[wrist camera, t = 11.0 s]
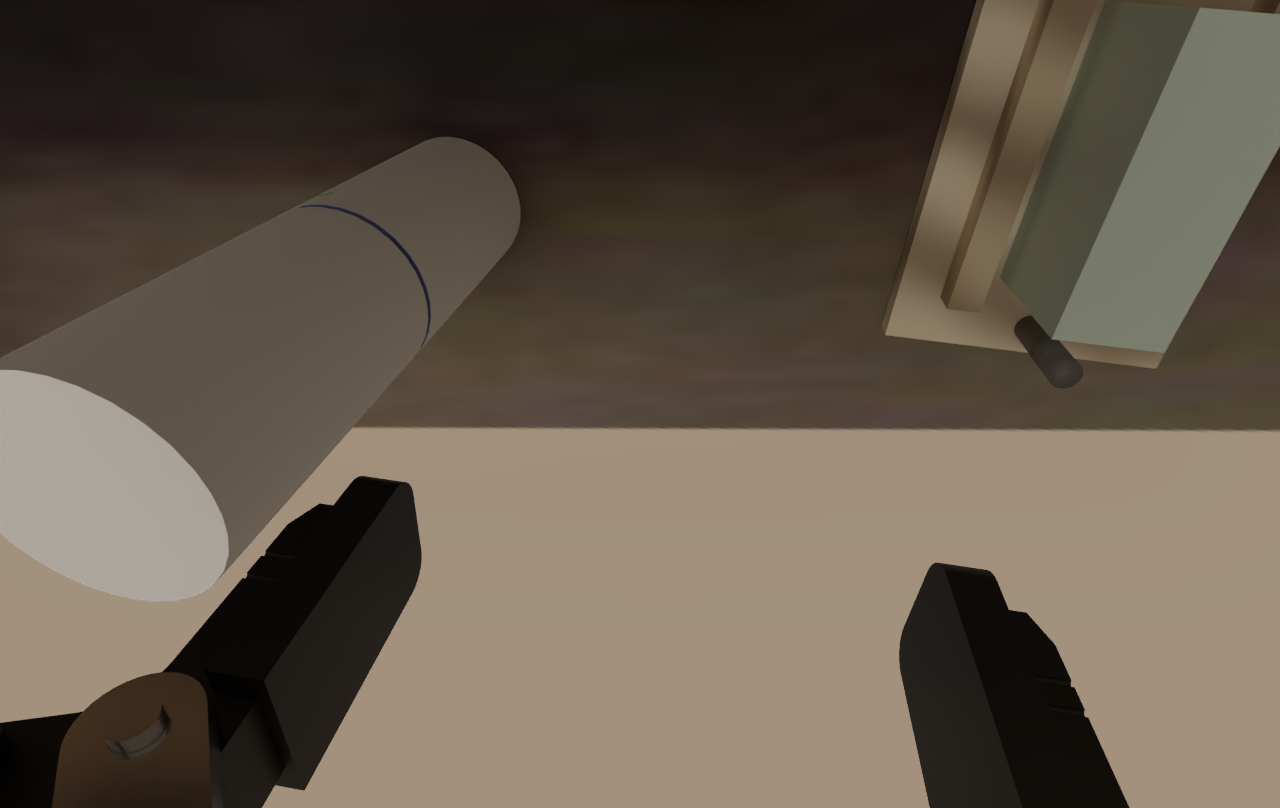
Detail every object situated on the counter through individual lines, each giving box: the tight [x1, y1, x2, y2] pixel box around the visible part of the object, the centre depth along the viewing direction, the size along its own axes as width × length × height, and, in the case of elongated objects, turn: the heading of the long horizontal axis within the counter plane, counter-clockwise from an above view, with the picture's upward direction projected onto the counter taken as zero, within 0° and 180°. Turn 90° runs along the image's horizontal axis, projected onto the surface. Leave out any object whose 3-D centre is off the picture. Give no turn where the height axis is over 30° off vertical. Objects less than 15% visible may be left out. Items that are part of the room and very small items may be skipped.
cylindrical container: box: [0, 137, 521, 602], centre depth 27 cm, size 7×7×25 cm
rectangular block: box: [1000, 1, 1280, 353], centre depth 28 cm, size 12×6×7 cm, turn 176°
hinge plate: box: [881, 0, 1280, 388], centre depth 29 cm, size 20×14×6 cm
